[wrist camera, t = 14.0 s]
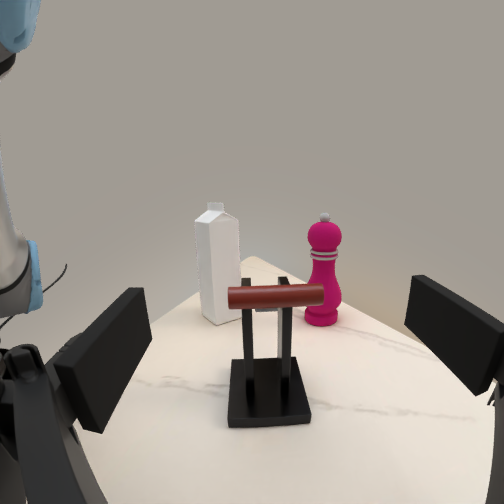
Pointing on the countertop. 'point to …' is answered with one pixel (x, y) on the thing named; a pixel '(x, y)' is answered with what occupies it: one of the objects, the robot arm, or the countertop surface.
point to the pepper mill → (324, 271)
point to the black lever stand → (267, 379)
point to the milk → (217, 262)
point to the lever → (275, 296)
